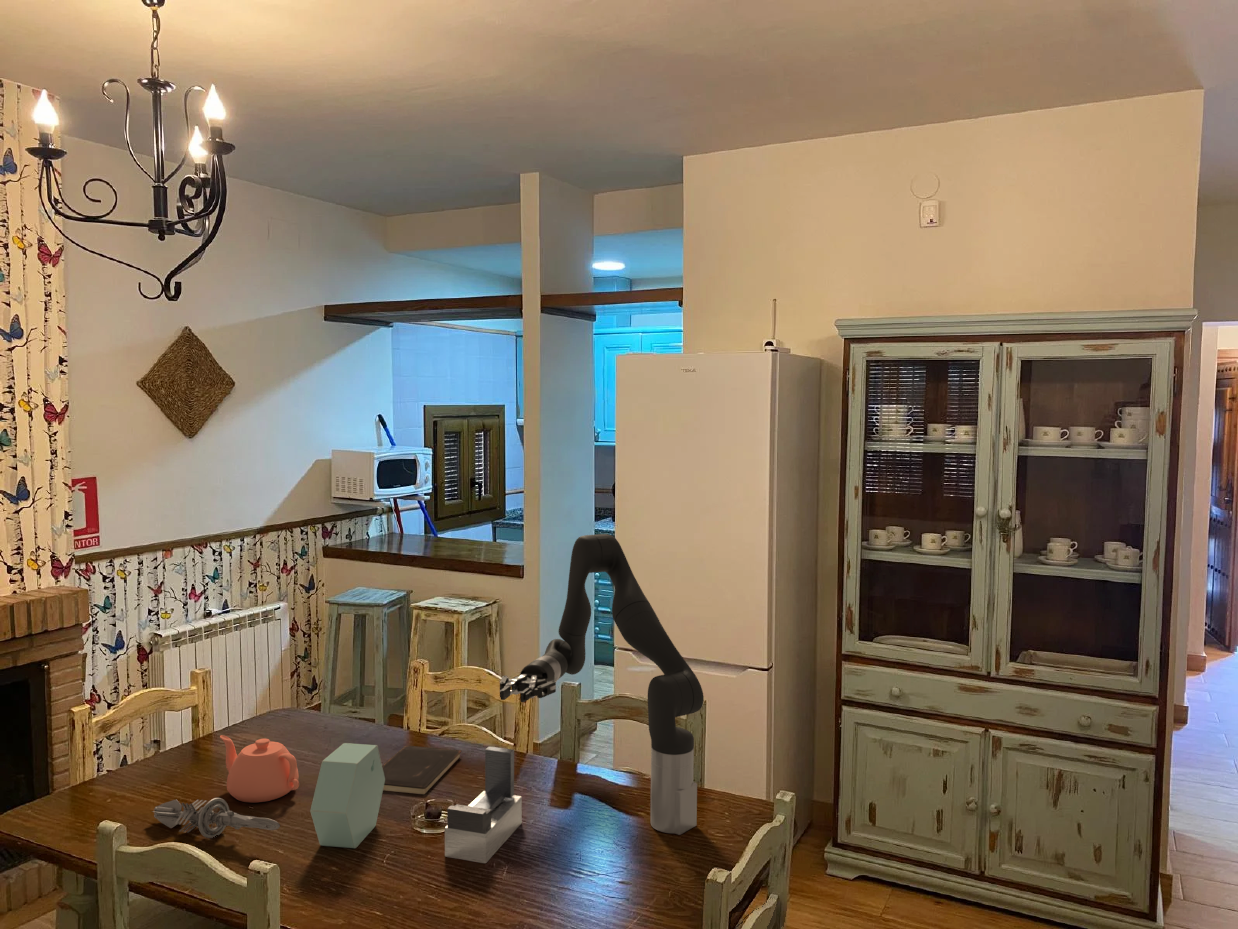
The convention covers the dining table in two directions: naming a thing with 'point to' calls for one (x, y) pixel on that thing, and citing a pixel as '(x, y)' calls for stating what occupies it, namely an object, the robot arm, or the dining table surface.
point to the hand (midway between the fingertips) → (512, 696)
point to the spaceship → (208, 817)
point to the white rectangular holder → (480, 828)
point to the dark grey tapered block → (497, 777)
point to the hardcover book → (417, 768)
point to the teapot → (260, 771)
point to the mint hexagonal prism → (348, 795)
